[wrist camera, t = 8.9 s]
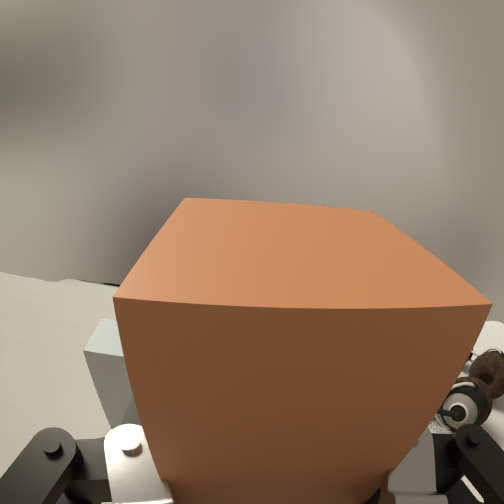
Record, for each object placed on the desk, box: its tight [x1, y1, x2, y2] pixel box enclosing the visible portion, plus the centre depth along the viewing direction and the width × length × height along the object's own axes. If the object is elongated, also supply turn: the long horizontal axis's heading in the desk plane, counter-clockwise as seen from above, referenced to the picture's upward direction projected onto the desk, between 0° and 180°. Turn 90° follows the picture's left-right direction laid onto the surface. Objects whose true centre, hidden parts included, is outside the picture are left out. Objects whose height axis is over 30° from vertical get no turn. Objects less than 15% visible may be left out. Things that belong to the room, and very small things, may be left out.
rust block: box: [113, 198, 492, 504], centre depth 8 cm, size 5×5×12 cm
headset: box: [435, 347, 504, 431], centre depth 35 cm, size 17×8×20 cm
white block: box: [83, 318, 132, 430], centre depth 27 cm, size 5×5×12 cm
